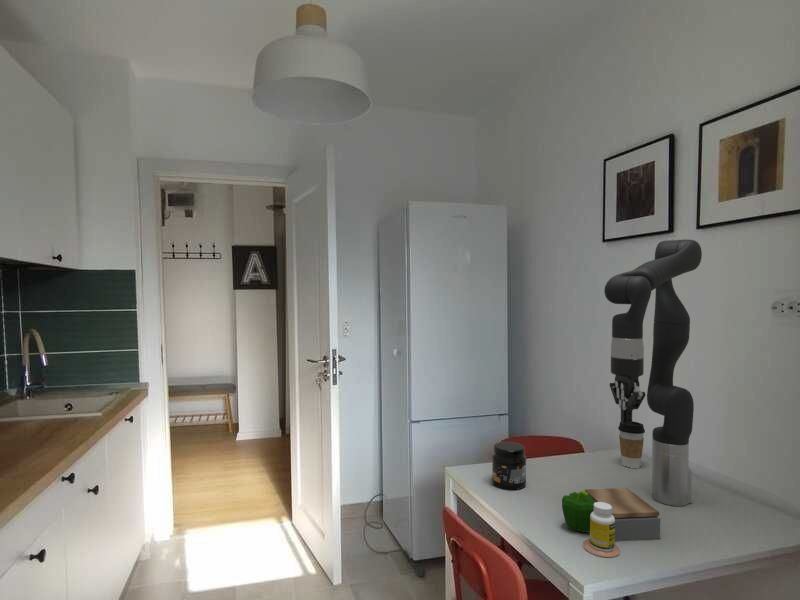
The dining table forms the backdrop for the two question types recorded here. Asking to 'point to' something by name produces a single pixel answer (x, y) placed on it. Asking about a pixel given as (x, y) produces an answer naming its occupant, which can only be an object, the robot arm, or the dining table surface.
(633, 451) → the coffee cup
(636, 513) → the tan flat square panel
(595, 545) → the supplement bottle
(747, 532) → the dining table surface
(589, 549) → the coaster
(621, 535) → the rails
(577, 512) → the bell pepper
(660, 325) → the robot arm
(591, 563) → the dining table surface
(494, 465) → the supplement container
